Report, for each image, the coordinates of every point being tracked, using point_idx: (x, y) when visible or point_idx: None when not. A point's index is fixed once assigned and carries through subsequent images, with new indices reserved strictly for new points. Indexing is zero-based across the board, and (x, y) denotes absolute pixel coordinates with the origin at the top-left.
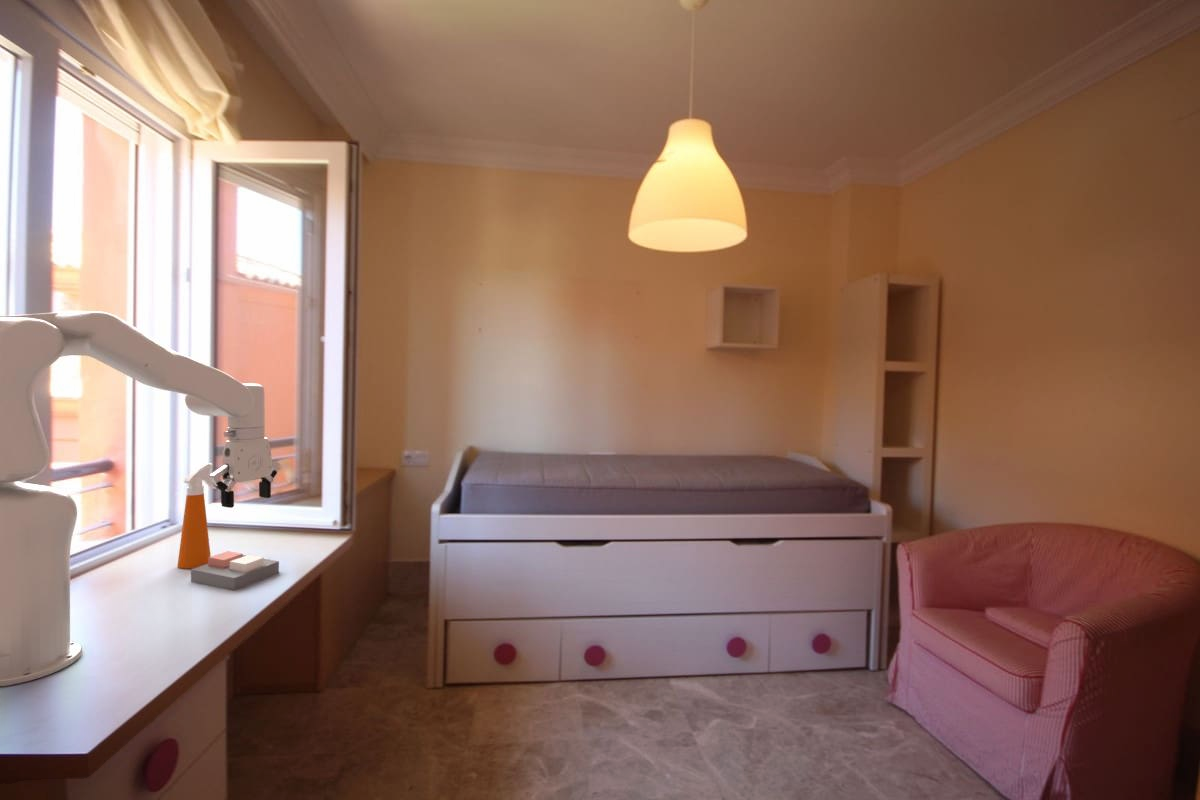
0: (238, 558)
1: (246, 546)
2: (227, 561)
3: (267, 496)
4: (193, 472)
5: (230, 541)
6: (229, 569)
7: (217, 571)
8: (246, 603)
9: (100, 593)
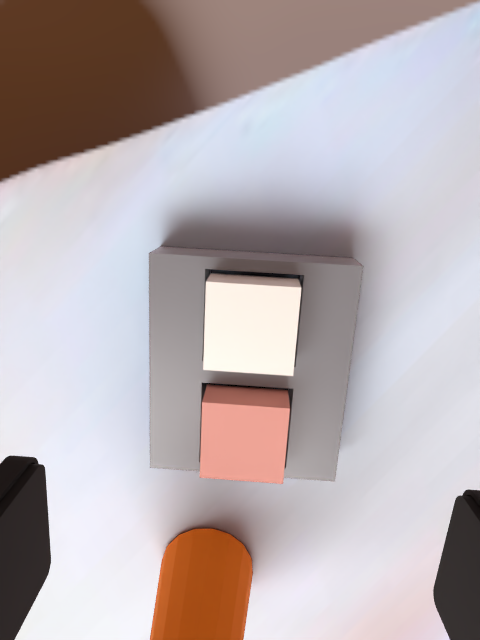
0: (254, 371)
1: None
2: (272, 402)
3: (36, 475)
4: None
5: None
6: None
7: (323, 383)
8: (442, 107)
9: None
